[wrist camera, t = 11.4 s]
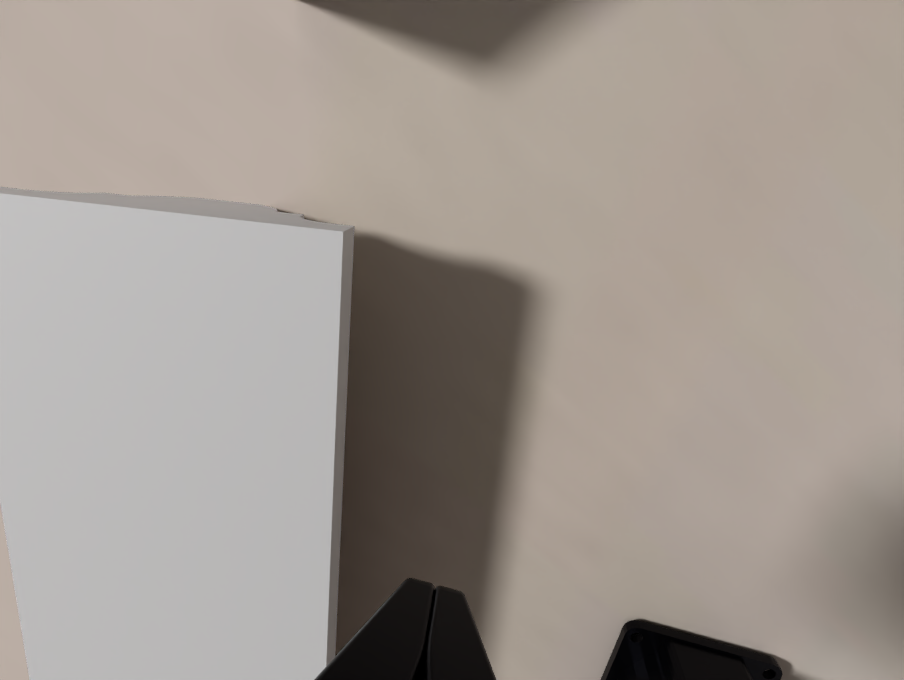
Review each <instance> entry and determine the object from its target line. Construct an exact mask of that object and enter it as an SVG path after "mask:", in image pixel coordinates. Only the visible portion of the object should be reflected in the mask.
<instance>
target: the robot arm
mask: <svg viewBox="0 0 904 680" xmlns="http://www.w3.org/2000/svg"><path fill="white" fill-rule="evenodd" d="M633 633H639V634H637V635H632V634H633ZM767 669H769V670H767ZM765 670H767V671H765ZM781 677H782V671H781V668H780V667H779V665H778V663H777V661H776V660H775V659H774V658H771V657H769V656H765V655H762V654H758V653H754V652H751V651H747V650H743V649H740V648H736V647H732V646H729V645H725V644H721V643H718V642H714V641H711V640H707V639H703V638H700V637H696V636H692V635H689V634H685V633H681V632H678V631H674V630H670V629H667V628H663V627H660V626H656V625H652V624H649V623H645V622H641V621H636V620H633V621H629V622H627V623H625V625H624V626H623V628H622V630H621V633H620V635H619V637H618V640H617V642H616V645H615V647H614V649H613V652H612V654H611V656H610V659H609V661H608V664H607V666H606V668H605V671H604V673H603V676H602V678H601V680H780V679H781ZM314 680H496V678H495V675H494V672H493V670H492V667H491V664H490V662H489V659H488V656H487V654H486V651H485V648H484V646H483V643H482V640H481V638H480V635H479V632H478V629H477V627H476V624H475V621H474V619H473V616H472V613H471V611H470V608H469V605H468V603H467V600H466V597H465V595H464V594H463V593H462V592H461V591H458V590H454V589H451V588H447V587H443V586H437V587H436V588H435V590H434V585H433V584H432V583H429V582H425V581H421V580H418V579H414V578H408V579H406V580H405V581H404V582H403V583H402V584H401V585H400V586H399V587H398V589H397V590H396V591H395V592H394V593H393V594H392V595H391V596H390V597H389V598H388V599H387V601H386V602H385V603H384V604H383V605H382V606H381V607H380V608H379V609H378V610H377V611H376V613H375V614H374V615H373V616H372V617H371V618H370V619H369V620H368V621H367V622H366V624H365V625H364V626H363V627H362V628H361V629H360V630H359V631H358V632H357V633H356V634H355V636H354V637H353V638H352V639H351V640H350V641H349V642H348V643H347V644H346V645H345V646H344V648H343V649H342V650H341V651H340V652H339V653H338V654H337V655H336V656H335V657H334V658H333V660H332V661H331V662H330V663H329V664H328V665H327V666H326V667H325V668H324V669H323V670H322V672H321V673H320V674H319V675H318V676H317V677H316V678H315V679H314Z"/></svg>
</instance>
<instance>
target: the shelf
mask: <svg viewBox="0 0 904 680" xmlns="http://www.w3.org/2000/svg"><path fill="white" fill-rule="evenodd" d="M354 227H355V226H350V225H341V224H332V223H323V222H317V221H311V220H306V219H304V215H303V214H294V213H285V212H278V210H277V209H275V208H273V207H269V206H265V205H259V204H251V203H242V202H233V201H224V200H214V199H205V198H193V197H175V196H131V195H122V194H113V193H73V192H51V191H37V190H26V189H17V188H8V187H0V504H1V510H2V516H3V522H4V528H5V534H6V540H7V546H8V552H9V558H10V564H11V570H12V576H13V583H14V589H15V595H16V601H17V607H18V613H19V619H20V625H21V631H22V637H23V643H24V649H25V655H26V661H27V667H28V673H29V680H314V679H315V678H316V677H317V676H318V675H319V674H320V673H321V672H322V670H323V669H324V668H325V667H326V666H327V665H328V664H329V663H330V662H331V661H332V660H333V658H334V657H335V650H336V628H337V605H338V583H339V561H340V539H341V516H342V494H343V472H344V449H345V427H346V405H347V383H348V360H349V338H350V316H351V293H352V271H353V249H354Z"/></svg>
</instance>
